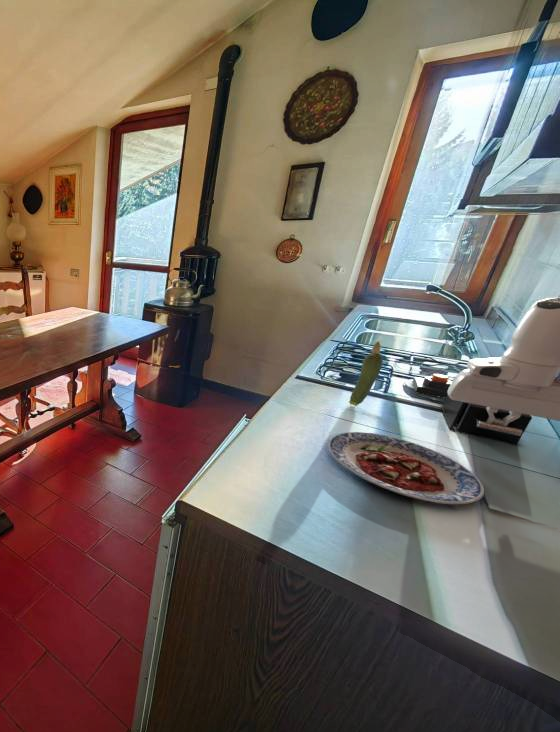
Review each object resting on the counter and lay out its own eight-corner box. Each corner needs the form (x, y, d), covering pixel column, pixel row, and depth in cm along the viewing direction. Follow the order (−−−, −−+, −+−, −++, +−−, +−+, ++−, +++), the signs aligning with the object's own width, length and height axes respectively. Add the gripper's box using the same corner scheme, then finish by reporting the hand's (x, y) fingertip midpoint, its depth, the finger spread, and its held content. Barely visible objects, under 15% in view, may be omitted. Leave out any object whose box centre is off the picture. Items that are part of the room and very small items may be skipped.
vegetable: (354, 401, 117) (378, 337, 108) (369, 408, 113) (395, 342, 105) (344, 403, 115) (367, 339, 107) (358, 410, 111) (383, 343, 103)
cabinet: (513, 444, 95) (533, 409, 92) (449, 429, 102) (465, 396, 98) (497, 421, 106) (515, 389, 102) (440, 409, 113) (454, 378, 109)
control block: (452, 390, 125) (457, 378, 123) (458, 401, 118) (464, 389, 116) (411, 382, 130) (416, 371, 129) (415, 392, 123) (420, 381, 121)
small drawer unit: (521, 454, 90) (539, 425, 87) (459, 440, 95) (474, 412, 92) (500, 423, 103) (514, 397, 100) (447, 412, 109) (459, 387, 105)
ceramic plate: (513, 527, 70) (521, 514, 69) (345, 493, 78) (349, 481, 77) (438, 451, 92) (444, 441, 91) (313, 431, 100) (317, 421, 99)
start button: (445, 380, 123) (447, 375, 122) (447, 384, 120) (449, 378, 119) (430, 377, 125) (432, 372, 124) (431, 381, 122) (434, 376, 121)
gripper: (591, 378, 83) (556, 434, 89) (460, 358, 95) (436, 408, 100) (604, 388, 79) (567, 446, 84) (465, 365, 90) (440, 418, 96)
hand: (495, 425), depth 92 cm, fingers closed
